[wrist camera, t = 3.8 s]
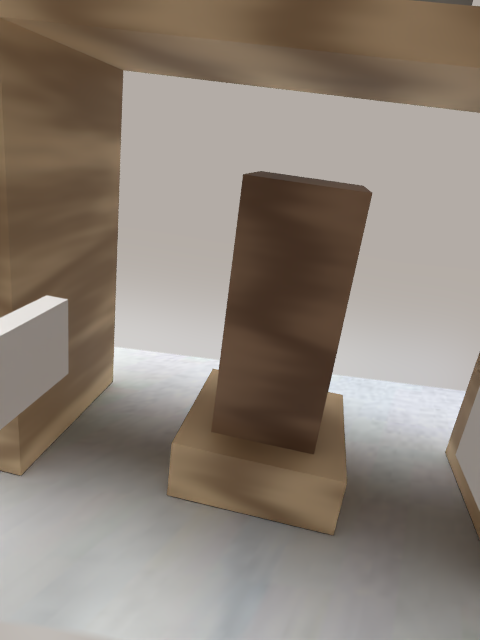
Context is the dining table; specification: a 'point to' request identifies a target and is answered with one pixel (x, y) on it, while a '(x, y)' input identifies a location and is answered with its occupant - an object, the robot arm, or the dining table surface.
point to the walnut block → (286, 306)
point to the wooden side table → (103, 193)
